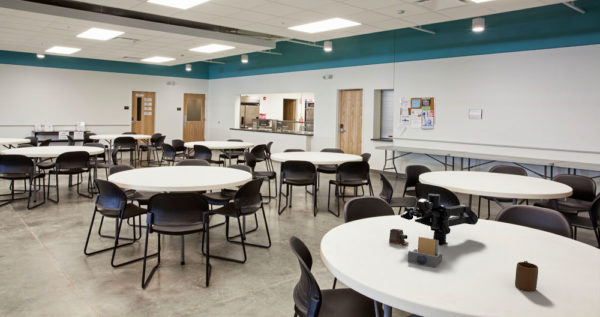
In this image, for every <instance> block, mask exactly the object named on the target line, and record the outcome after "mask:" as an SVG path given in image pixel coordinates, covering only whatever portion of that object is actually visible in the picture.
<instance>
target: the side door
mask: <svg viewBox="0 0 600 317" xmlns="http://www.w3.org/2000/svg"><path fill="white" fill-rule="evenodd" d="M417 239H418V240H417V252H419V253H424V254H428V255H433V256H437V257H438V256H439V245H438V242H439V240H434V239H433V238H429V237H423V236H418V238H417Z"/></svg>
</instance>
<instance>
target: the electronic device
mask: <svg viewBox="0 0 600 317" xmlns="http://www.w3.org/2000/svg"><path fill="white" fill-rule="evenodd" d="M406 240H408V235H407V234H404V230H403V229H400V228H399V229H398V228H390V230H389V239H388V243H392V244H396V245H399V246H402V247H405V246H408V244H409V242H408V241H406Z"/></svg>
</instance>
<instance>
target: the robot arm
mask: <svg viewBox="0 0 600 317" xmlns="http://www.w3.org/2000/svg"><path fill="white" fill-rule="evenodd" d="M416 203H417V209H416V211H415V208H413V207H410V206H405V207H403V208H404V210H403V212H402V213H401V214H400V218H402V219H405V220H408V221H410V220H413V219H414V222H416V223H418V224H422V225H424V226H427V227H430V230H431V231H432V232H433V235H432V237H433V238H432V239H434V240H439V242H438V246H444V245H449V242H447V235H449V234H450V233H451V231H452V230H451V228H450V227H454V226H460V225H465V224H467V225H473V226H474V225H476V224H477V223H478V221H479V216H477V214H476V213H475V212H474V211H473V210H472V209H471V208H470V207H469V206H468V205H464V204H459V205H452V206H445V205H441V204H440V203H441V194H438V193H436V194H435V193H428V195H427V199H426V198H420V199H418V200H417V201H416ZM454 215H458V216H454ZM451 216H452V217H451ZM414 217H416V218H414Z"/></svg>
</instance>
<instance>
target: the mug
mask: <svg viewBox="0 0 600 317" xmlns="http://www.w3.org/2000/svg"><path fill="white" fill-rule="evenodd" d="M515 267H516V268H515V279H514V287H516V288H517V289H518V288H519V289H518V290H521V291H524V292H530V291H531V292H535V291H536V290H537V286H538V279H539V278H538V277H539V267H538V265H536V264H534V263H531V262H528V260H523V261H519V262H517V263H516V266H515Z"/></svg>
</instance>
